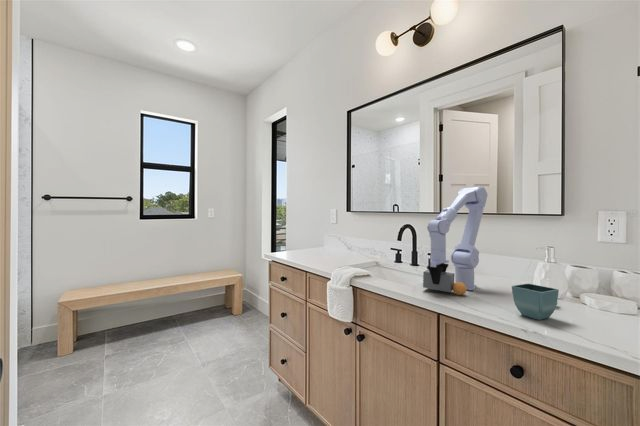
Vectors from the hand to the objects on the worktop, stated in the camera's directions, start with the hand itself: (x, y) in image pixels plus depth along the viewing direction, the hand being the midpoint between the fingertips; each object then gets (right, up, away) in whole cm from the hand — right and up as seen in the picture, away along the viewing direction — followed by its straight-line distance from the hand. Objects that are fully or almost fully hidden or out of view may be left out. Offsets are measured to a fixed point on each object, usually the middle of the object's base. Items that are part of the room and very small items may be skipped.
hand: (438, 282), depth 115 cm
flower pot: (+18, -4, -29) cm, 34 cm away
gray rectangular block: (0, -2, 0) cm, 2 cm away
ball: (+6, -1, -5) cm, 8 cm away
